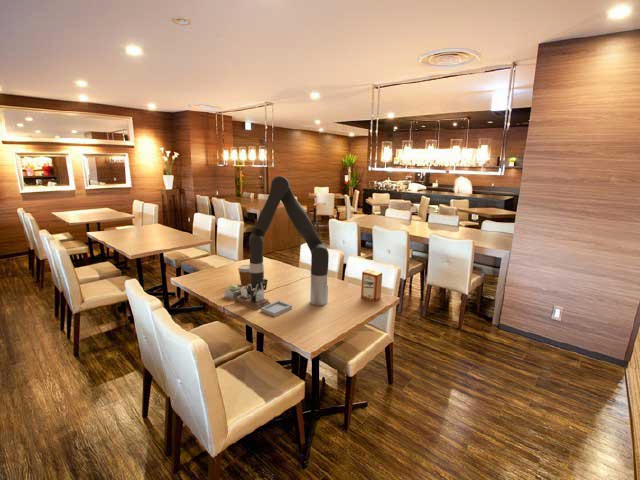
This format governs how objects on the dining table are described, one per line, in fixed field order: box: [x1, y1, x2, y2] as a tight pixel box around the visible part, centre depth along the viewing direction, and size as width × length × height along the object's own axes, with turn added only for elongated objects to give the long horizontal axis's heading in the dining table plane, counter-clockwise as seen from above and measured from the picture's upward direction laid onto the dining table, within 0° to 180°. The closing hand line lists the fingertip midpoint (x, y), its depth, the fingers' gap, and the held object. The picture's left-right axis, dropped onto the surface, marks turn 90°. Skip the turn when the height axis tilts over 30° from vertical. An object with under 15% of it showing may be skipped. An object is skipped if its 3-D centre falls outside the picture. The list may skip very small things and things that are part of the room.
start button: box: [230, 284, 238, 291], centre depth 188 cm, size 3×3×4 cm
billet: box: [251, 288, 265, 304], centre depth 178 cm, size 5×5×7 cm
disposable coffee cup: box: [237, 264, 251, 287], centre depth 207 cm, size 10×10×12 cm
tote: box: [260, 300, 293, 318], centre depth 173 cm, size 13×10×2 cm
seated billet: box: [240, 286, 251, 300], centre depth 183 cm, size 5×5×7 cm
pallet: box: [234, 295, 271, 311], centre depth 181 cm, size 10×18×2 cm, turn 53°
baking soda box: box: [360, 269, 383, 302], centre depth 191 cm, size 10×6×16 cm
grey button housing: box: [224, 286, 241, 302], centre depth 188 cm, size 8×8×4 cm
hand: (257, 299), depth 178 cm, fingers closed on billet, 5 cm apart
